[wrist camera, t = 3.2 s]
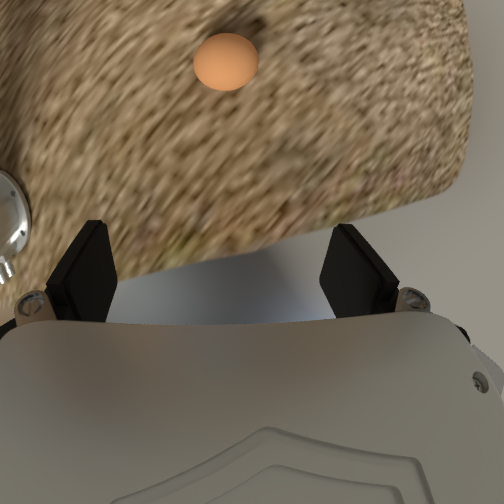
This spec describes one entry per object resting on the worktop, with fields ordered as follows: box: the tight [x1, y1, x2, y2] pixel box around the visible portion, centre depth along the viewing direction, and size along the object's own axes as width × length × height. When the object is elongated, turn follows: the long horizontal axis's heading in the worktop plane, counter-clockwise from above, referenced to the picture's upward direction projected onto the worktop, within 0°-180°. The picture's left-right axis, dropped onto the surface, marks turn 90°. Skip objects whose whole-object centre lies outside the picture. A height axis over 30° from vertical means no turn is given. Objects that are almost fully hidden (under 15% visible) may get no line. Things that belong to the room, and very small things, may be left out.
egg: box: [193, 33, 259, 91], centre depth 19 cm, size 6×6×6 cm
